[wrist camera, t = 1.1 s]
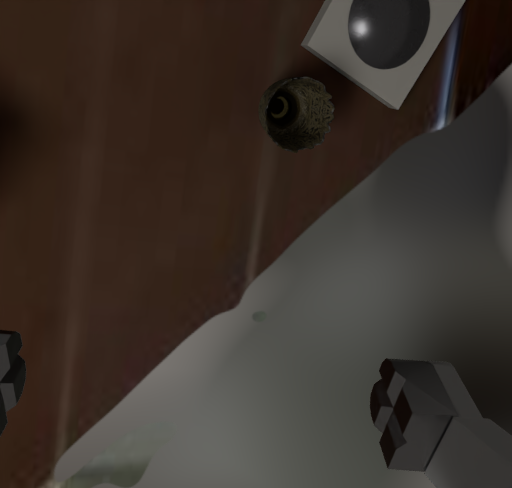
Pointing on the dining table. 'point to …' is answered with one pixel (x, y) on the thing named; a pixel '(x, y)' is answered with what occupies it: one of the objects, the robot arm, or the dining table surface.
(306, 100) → the cup
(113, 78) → the dining table surface
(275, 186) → the dining table surface
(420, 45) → the display tile
